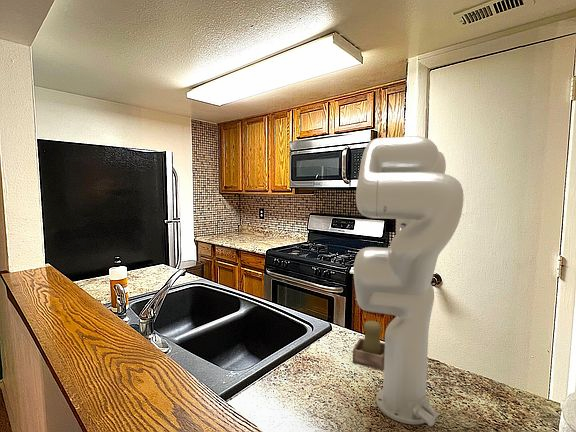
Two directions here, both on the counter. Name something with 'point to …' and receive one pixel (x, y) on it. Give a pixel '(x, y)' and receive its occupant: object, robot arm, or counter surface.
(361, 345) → the shaker caddy
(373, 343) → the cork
